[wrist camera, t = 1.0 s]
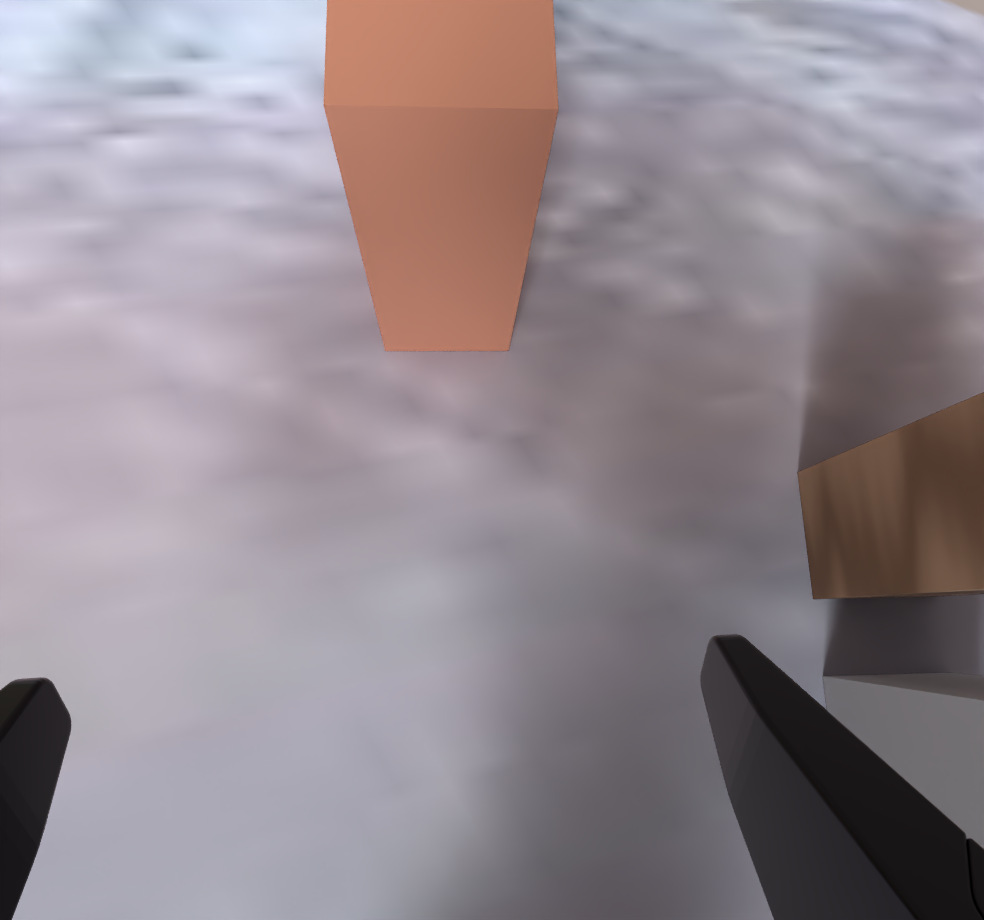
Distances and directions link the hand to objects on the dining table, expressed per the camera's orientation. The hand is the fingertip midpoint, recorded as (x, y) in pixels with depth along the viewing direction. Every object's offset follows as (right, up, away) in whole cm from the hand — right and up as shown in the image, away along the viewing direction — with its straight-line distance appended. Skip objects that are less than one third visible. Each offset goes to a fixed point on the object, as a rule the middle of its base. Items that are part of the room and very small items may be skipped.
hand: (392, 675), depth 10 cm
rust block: (0, +9, +16) cm, 19 cm away
